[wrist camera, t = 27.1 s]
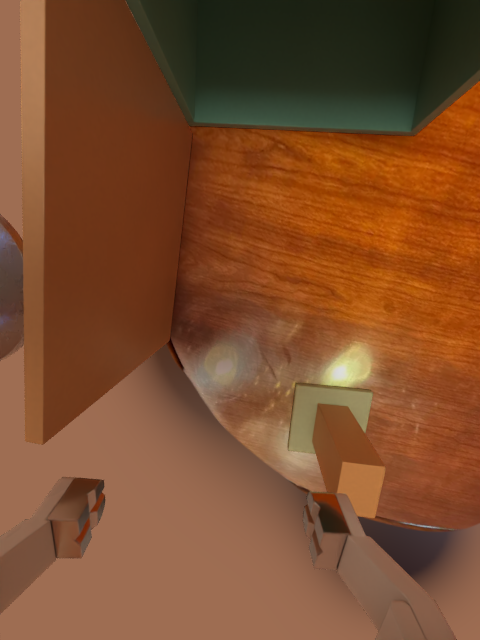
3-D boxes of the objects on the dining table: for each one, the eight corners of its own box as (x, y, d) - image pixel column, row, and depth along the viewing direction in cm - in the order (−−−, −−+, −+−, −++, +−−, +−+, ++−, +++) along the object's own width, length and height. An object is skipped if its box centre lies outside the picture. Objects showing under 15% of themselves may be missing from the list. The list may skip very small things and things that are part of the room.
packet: (311, 441, 40) (333, 513, 28) (317, 403, 39) (342, 461, 27) (341, 444, 40) (374, 518, 28) (348, 406, 39) (386, 467, 27)
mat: (287, 446, 42) (288, 450, 41) (295, 382, 40) (296, 385, 39) (358, 454, 41) (360, 459, 40) (370, 389, 39) (373, 392, 38)
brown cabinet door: (124, 332, 40) (-63, 424, 17) (139, 125, 34) (-117, -174, 11) (169, 340, 40) (42, 445, 16) (192, 133, 34) (45, -157, 11)
